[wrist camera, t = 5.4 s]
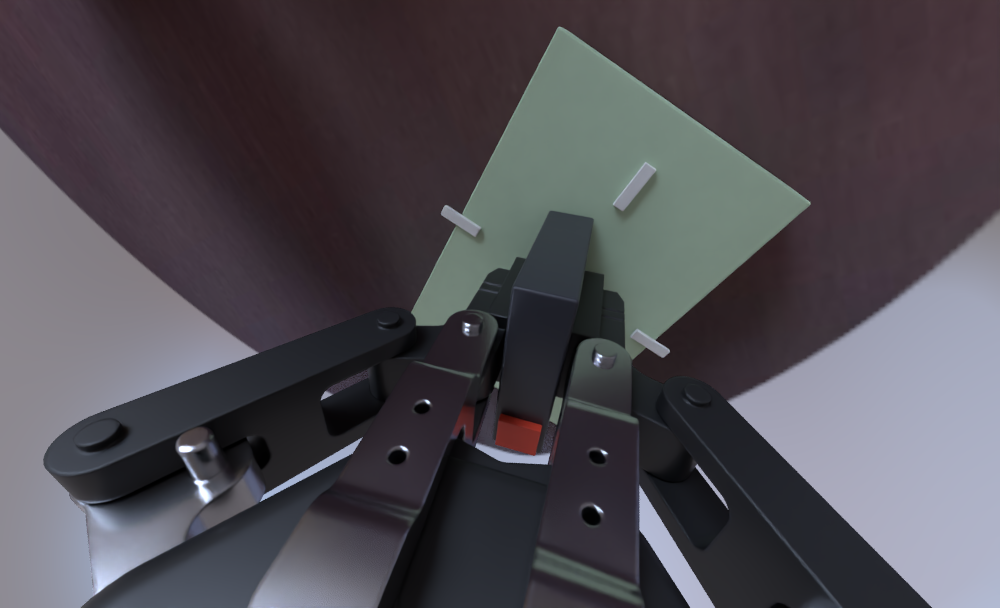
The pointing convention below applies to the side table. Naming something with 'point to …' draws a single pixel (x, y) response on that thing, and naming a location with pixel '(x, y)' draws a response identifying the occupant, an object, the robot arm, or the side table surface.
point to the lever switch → (611, 196)
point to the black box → (540, 330)
